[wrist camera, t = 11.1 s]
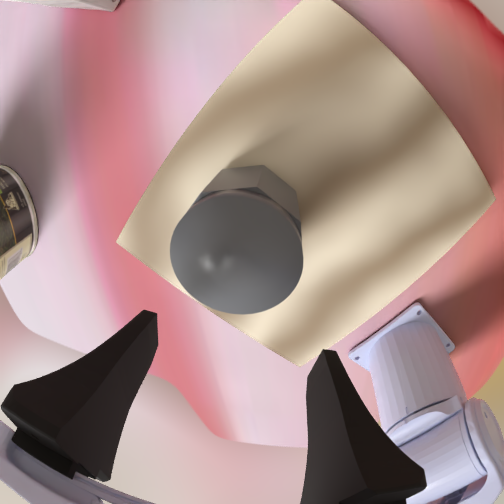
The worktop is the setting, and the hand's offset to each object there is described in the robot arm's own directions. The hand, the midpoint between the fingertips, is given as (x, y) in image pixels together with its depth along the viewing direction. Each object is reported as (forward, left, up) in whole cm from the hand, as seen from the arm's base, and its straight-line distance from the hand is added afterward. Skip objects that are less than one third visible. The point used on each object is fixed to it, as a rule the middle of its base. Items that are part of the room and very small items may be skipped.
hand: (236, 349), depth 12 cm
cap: (+2, -2, -7) cm, 8 cm away
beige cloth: (-1, -5, -9) cm, 11 cm away
